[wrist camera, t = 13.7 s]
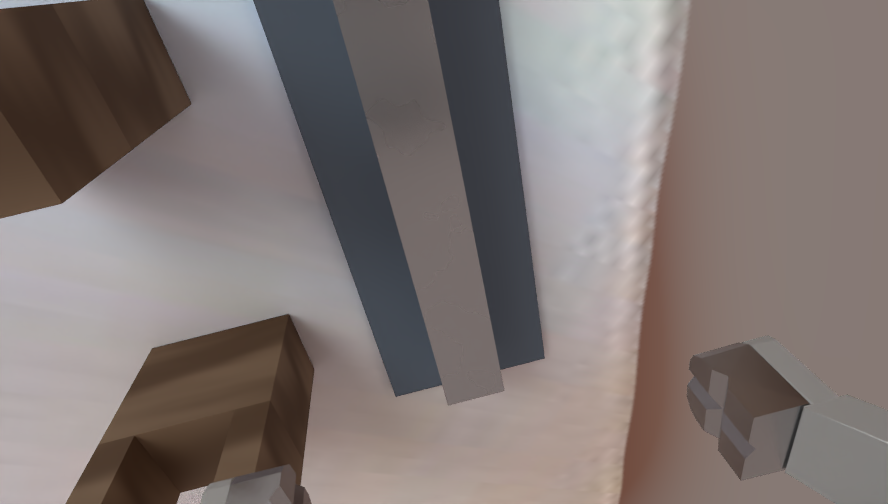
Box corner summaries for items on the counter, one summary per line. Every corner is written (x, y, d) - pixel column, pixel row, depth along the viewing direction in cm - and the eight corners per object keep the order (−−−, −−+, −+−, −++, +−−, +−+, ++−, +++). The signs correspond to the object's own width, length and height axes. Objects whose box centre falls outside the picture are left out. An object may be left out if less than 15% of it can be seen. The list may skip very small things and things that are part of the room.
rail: (309, -99, 17) (300, -113, 14) (395, -119, 17) (401, -136, 14) (440, 365, 28) (448, 405, 25) (491, 352, 28) (504, 390, 25)
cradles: (-56, 41, 18) (-451, 105, 9) (140, -5, 18) (-64, 14, 9) (187, 401, 27) (108, 598, 19) (314, 369, 28) (292, 549, 19)
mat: (209, -131, 16) (205, -134, 16) (470, -190, 17) (473, -196, 16) (395, 389, 29) (395, 396, 29) (541, 351, 29) (544, 358, 29)
